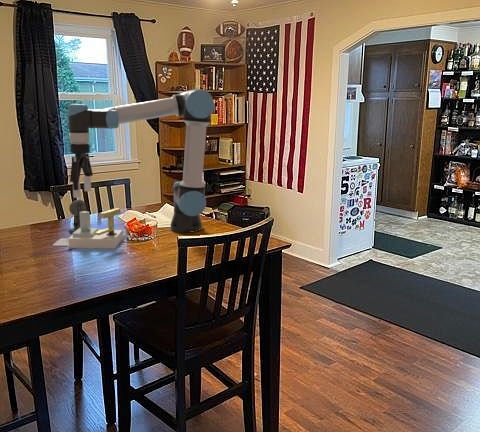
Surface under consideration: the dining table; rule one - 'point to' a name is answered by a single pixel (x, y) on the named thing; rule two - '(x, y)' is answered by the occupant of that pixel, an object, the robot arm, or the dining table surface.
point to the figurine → (76, 213)
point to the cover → (85, 226)
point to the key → (109, 220)
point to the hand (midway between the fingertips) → (82, 194)
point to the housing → (97, 240)
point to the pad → (62, 242)
